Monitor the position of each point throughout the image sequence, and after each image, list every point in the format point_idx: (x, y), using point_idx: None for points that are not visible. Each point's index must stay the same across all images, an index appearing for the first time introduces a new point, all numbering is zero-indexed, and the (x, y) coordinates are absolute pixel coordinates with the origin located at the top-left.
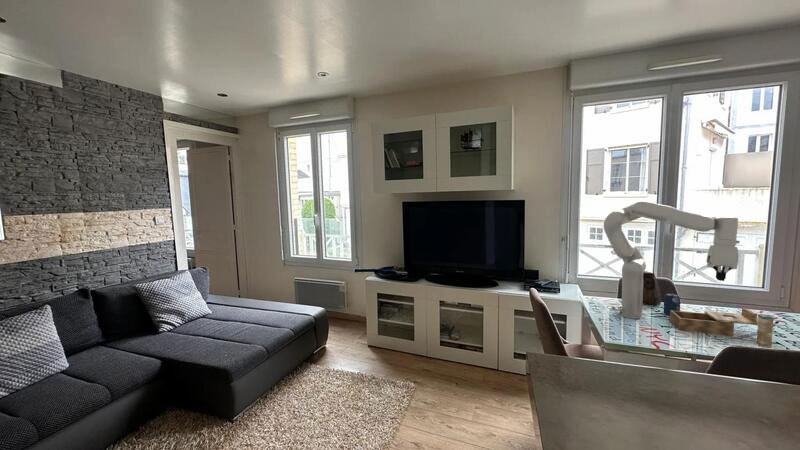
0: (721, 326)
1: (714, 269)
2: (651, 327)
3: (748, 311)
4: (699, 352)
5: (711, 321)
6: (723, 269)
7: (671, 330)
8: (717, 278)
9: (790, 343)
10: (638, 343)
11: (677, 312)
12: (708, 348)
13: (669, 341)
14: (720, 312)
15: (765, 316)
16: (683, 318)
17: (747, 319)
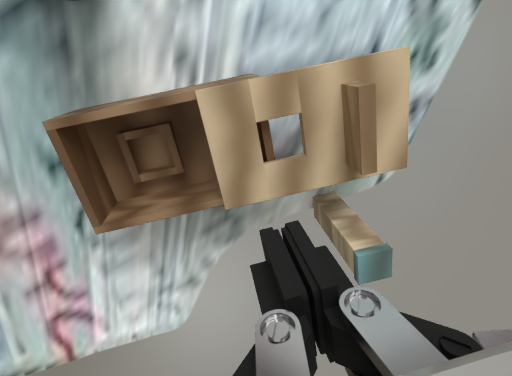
0: None
1: (242, 367)
2: (20, 203)
3: (361, 142)
4: (163, 326)
5: (206, 208)
6: (365, 347)
7: None
8: (264, 251)
9: (412, 128)
10: (19, 354)
11: (79, 122)
12: (186, 291)
13: (92, 298)
14: (262, 83)
15: (368, 277)
16: (108, 226)
17: (338, 147)
